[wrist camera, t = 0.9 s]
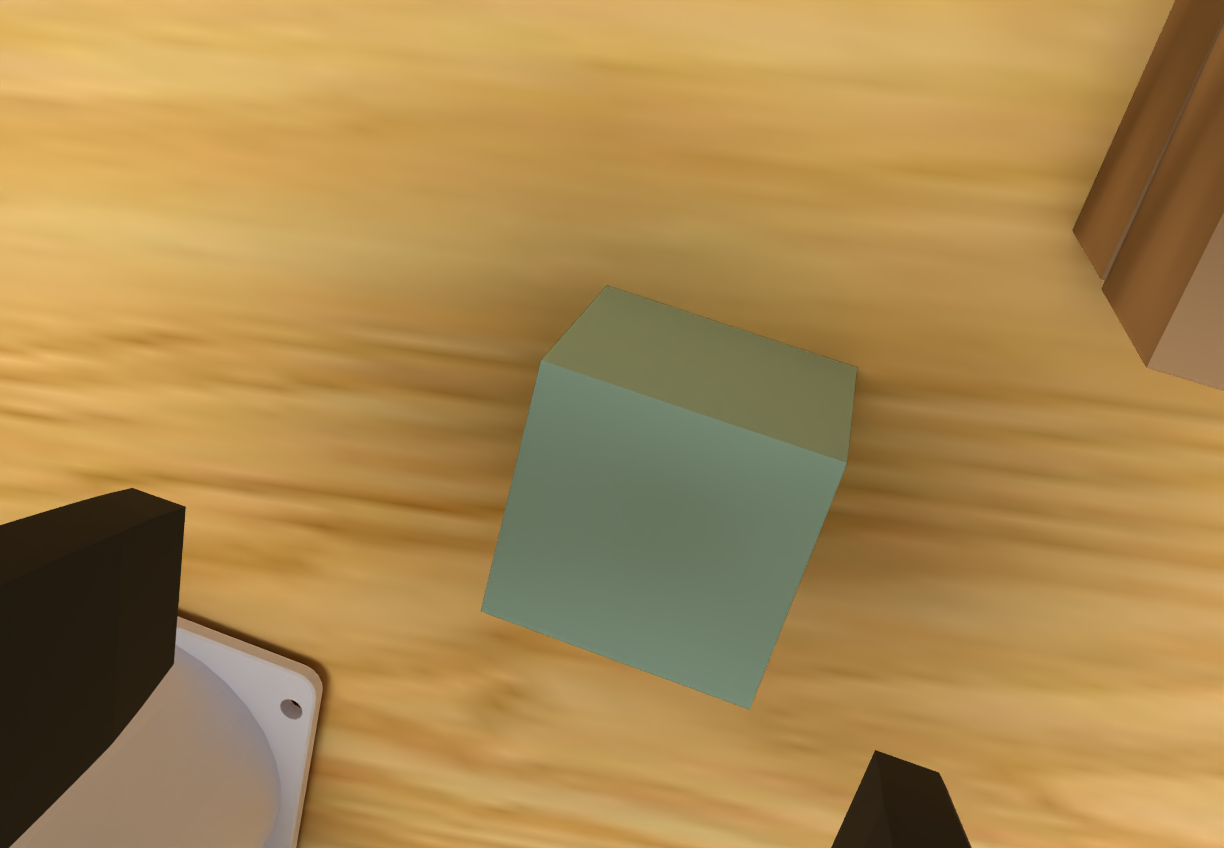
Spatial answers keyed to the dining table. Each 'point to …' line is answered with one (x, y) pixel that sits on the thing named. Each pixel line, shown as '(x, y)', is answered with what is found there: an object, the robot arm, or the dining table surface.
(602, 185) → the dining table surface
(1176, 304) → the tower mid
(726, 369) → the teal block
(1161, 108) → the tower base
